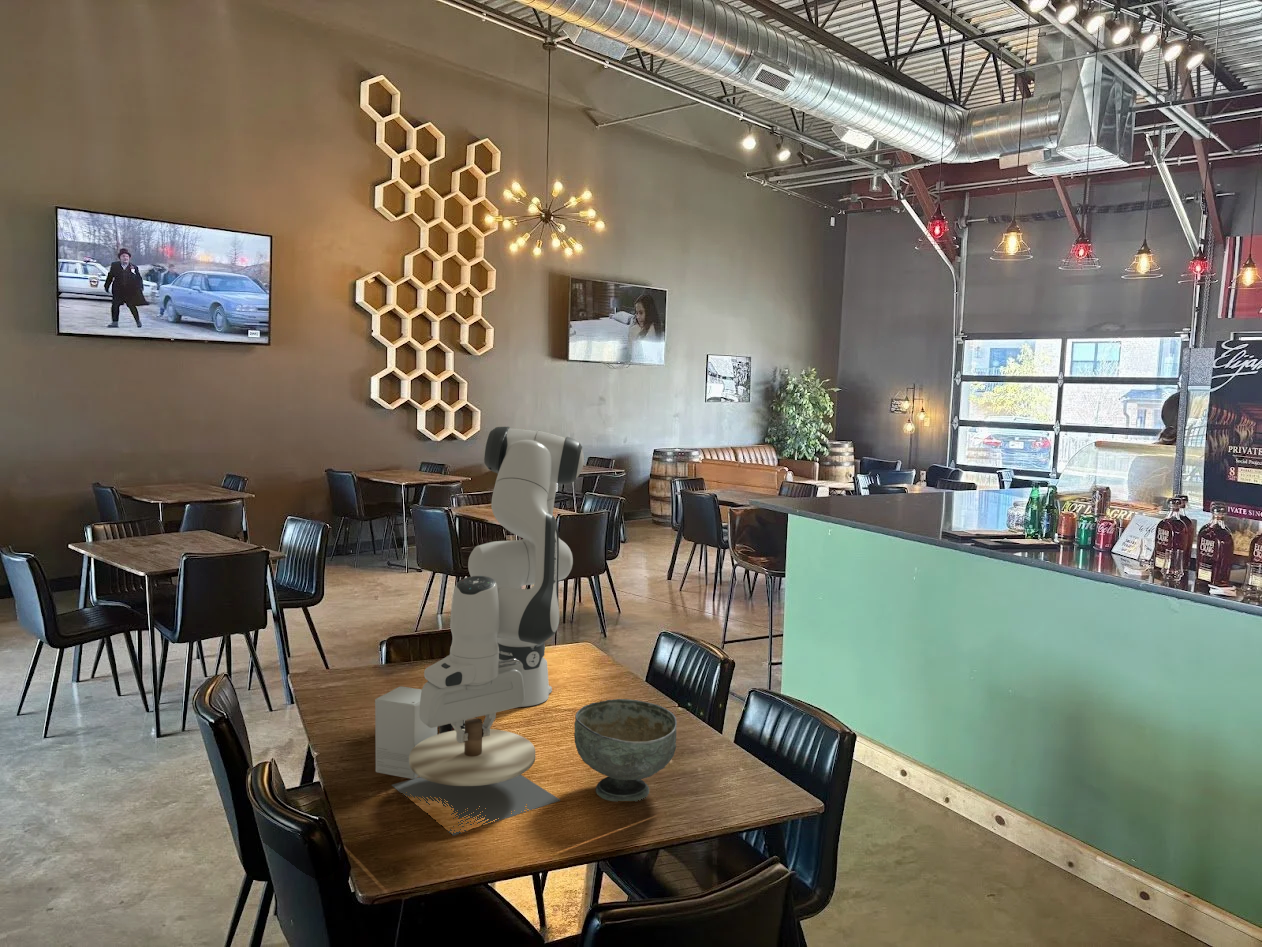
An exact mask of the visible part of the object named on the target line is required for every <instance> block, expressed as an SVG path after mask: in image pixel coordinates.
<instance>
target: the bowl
mask: <svg viewBox="0 0 1262 947" xmlns="http://www.w3.org/2000/svg"><path fill="white" fill-rule="evenodd" d="M677 722H678V721H677V717H676V716H675V714H674V713H673V712H672V711H670V710H669V709H668V708H666V707H664V706H662V705H659V704H655V703H652V702H648V701H643V700H637V699H629V698H617V699H616V698H615V699H605V700H601V701H597V702H592V703H590V704H586V705H583V706H582V707H581V708H580V709H579V710H578V711H576V713H575V720H574V734H573V735H574V737H573V738H574V743H575V747H576V750H577V753H578V755H579V757H580V758H581V761H583V762H584V763H585V764H586V765H587V766H589V767H590V768H591V769H593V770H594V771H596V772H597V773H600V774H602V775H603V776H606V777H603V778H602V779H600V781H599V782H598V783H597V784H596V786H595V793H596V795H597V796H599V797H600V799H603V800H606V801H610V802H618V801H635V802H639V801H642V800H644V799H646V798H648V796H649V795H648V794H650V787H649V785H648V784H647V783H646V782H645V781H644V779H646V778H651V777H652V776H654V775H655V774H658V773H659V772H660V771H661V770H663V769H665V767H666V766H667V765H668V764H669V763H670V762H671V760H672V759H673V757H674V756H675V752H676V749H677V744H676V743H677V725H678V724H677ZM645 797H646V798H645ZM643 798H644V799H643ZM641 799H642V800H641ZM638 800H639V801H638Z"/></svg>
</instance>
